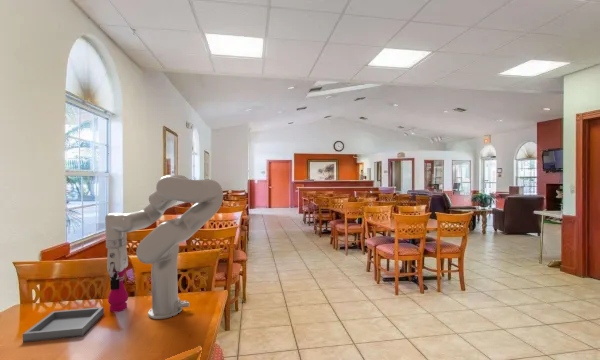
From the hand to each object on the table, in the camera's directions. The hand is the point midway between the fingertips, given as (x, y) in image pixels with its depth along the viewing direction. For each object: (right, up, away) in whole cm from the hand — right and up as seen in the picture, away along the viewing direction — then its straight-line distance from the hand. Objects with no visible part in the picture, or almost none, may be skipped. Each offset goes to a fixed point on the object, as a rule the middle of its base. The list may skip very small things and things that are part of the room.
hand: (117, 286), depth 134 cm
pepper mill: (0, -10, 0) cm, 10 cm away
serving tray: (-10, -10, -15) cm, 21 cm away
